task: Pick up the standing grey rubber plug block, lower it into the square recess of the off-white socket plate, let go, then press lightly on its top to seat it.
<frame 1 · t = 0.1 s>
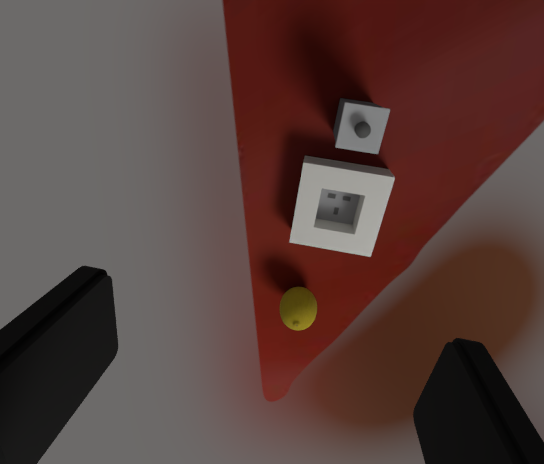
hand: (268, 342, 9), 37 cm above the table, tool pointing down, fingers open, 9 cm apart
plug: (352, 117, 40), on the table
socket: (337, 201, 45), on the table
lemon: (299, 290, 53), on the table
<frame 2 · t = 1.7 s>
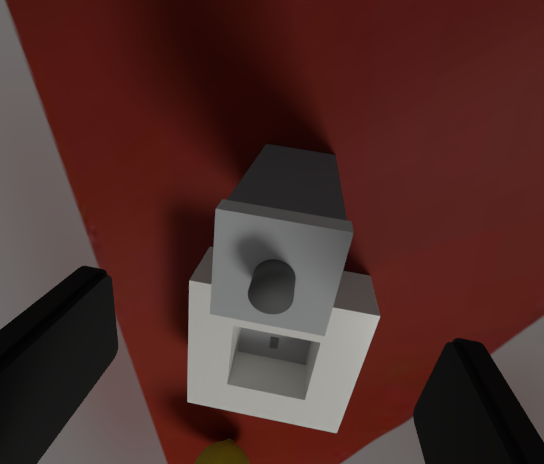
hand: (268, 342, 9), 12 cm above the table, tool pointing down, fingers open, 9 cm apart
plug: (294, 182, 20), on the table
socket: (277, 322, 25), on the table
lemon: (230, 437, 32), on the table
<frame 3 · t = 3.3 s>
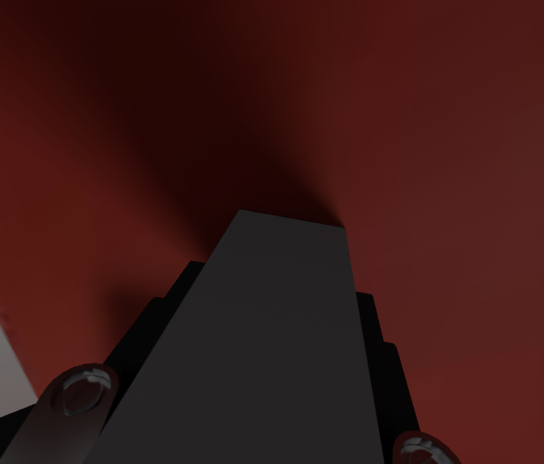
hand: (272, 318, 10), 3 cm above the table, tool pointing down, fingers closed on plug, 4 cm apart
plug: (283, 263, 13), on the table, touching gripper
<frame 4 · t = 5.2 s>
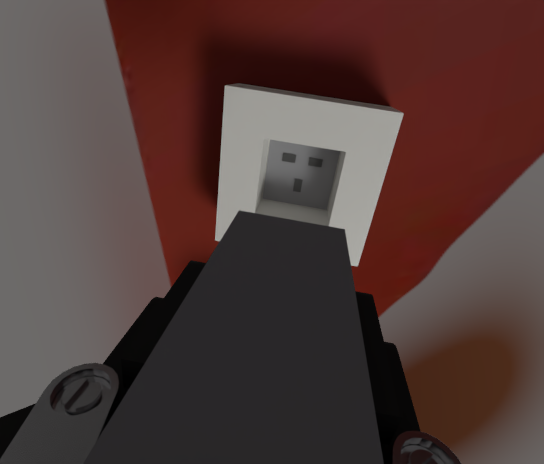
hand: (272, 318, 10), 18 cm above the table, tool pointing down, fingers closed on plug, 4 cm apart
plug: (283, 265, 13), point 14 cm above the table, touching gripper
socket: (300, 169, 26), on the table
when the fingers open (5 cm above the table, at t = 7.3 s): plug stays where it is, resting on socket.
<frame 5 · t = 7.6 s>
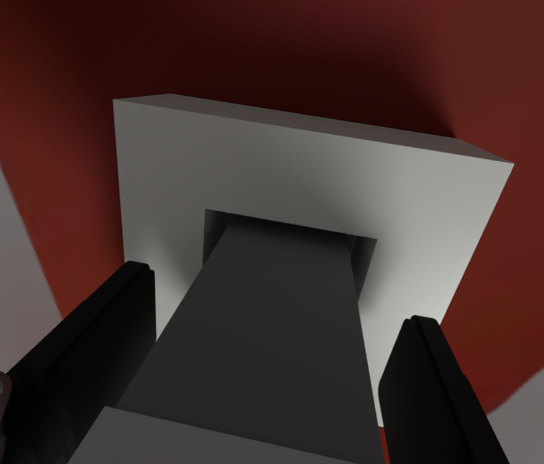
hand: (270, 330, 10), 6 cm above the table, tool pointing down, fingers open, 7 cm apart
plug: (285, 253, 14), point 1 cm above the table, touching socket
socket: (287, 242, 15), on the table
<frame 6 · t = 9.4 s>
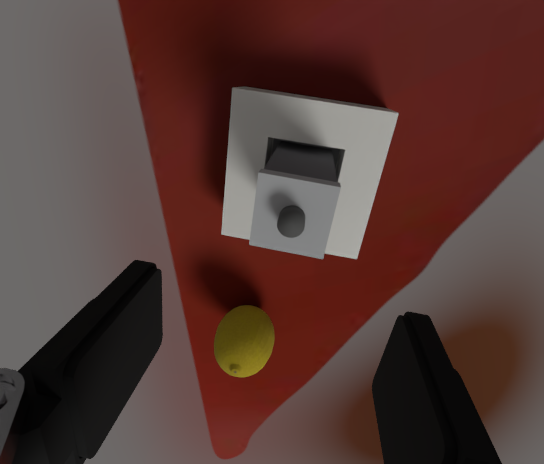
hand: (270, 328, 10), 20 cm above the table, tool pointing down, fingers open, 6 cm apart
plug: (301, 170, 26), point 1 cm above the table, touching socket
socket: (302, 167, 27), on the table
lemon: (253, 310, 35), on the table
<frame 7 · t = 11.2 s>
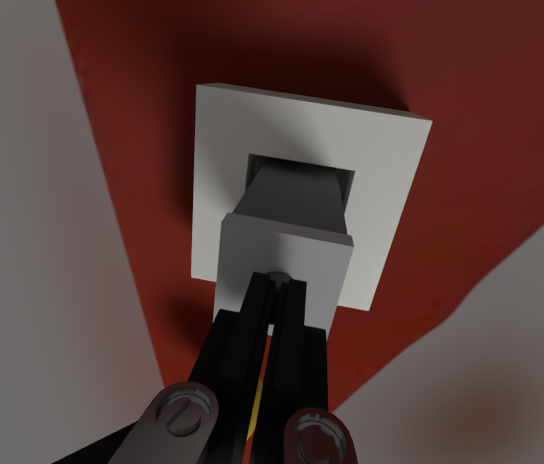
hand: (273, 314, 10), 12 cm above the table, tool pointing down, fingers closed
plug: (296, 193, 20), point 1 cm above the table, touching gripper, socket
socket: (297, 188, 21), on the table
lemon: (238, 356, 29), on the table
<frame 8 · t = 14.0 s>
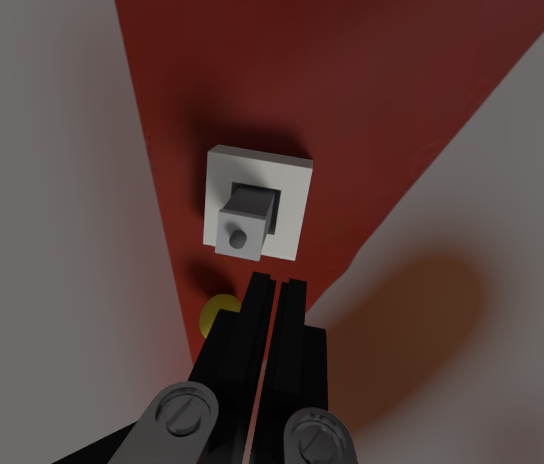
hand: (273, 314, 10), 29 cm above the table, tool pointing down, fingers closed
plug: (258, 200, 39), point 1 cm above the table, touching socket
socket: (259, 197, 40), on the table
lemon: (229, 298, 47), on the table
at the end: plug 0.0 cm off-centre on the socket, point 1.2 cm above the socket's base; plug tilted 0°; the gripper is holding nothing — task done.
